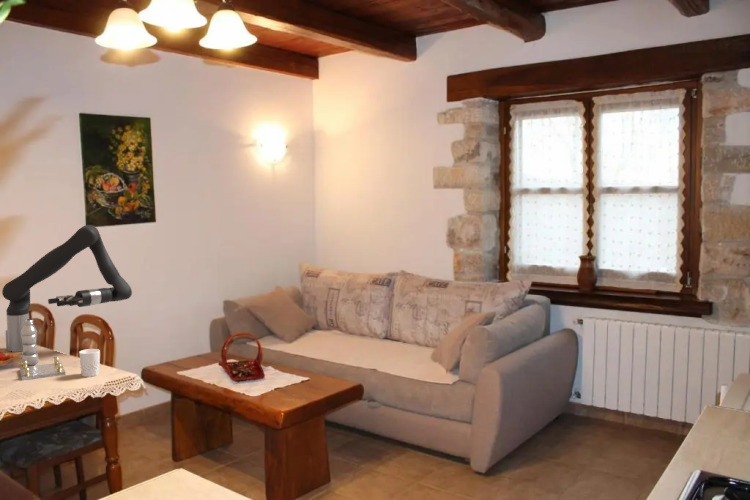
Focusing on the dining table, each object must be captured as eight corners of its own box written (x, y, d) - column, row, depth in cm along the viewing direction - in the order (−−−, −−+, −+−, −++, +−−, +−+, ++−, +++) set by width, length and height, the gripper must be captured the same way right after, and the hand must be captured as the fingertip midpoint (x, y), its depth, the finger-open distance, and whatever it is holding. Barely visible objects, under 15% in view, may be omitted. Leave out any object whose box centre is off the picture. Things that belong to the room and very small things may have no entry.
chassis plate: (19, 370, 277) (19, 360, 277) (61, 365, 286) (60, 355, 285) (21, 380, 264) (21, 370, 263) (65, 374, 272) (65, 364, 272)
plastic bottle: (24, 368, 281) (22, 322, 279) (20, 364, 286) (18, 319, 284) (40, 365, 285) (38, 320, 283) (36, 362, 290) (34, 317, 288)
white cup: (91, 378, 268) (91, 354, 267) (75, 376, 270) (74, 352, 269) (104, 372, 275) (104, 349, 274) (88, 371, 278) (88, 348, 276)
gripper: (80, 288, 308) (45, 292, 295) (95, 291, 298) (59, 296, 286) (81, 303, 308) (46, 309, 296) (96, 307, 299) (60, 313, 287)
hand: (52, 302), depth 291 cm, fingers open, 8 cm apart
